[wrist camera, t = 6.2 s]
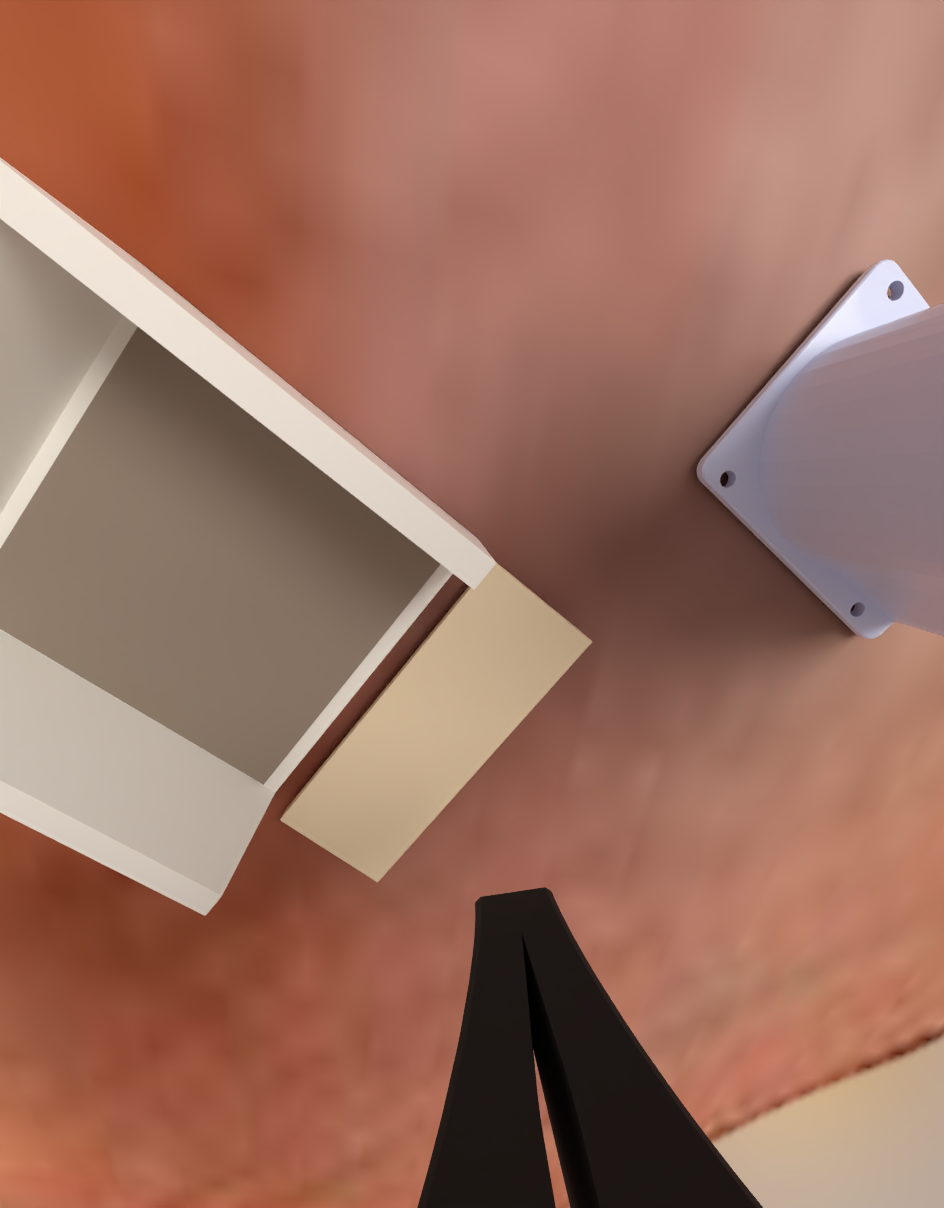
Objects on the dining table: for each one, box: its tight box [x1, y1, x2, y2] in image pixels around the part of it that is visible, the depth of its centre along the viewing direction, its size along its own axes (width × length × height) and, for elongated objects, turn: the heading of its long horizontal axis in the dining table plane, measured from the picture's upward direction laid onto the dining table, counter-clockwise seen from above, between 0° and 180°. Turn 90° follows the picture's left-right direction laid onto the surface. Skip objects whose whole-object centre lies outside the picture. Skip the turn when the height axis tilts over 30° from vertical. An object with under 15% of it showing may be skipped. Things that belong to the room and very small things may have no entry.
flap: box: [280, 562, 592, 882], centre depth 16 cm, size 1×12×4 cm
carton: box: [0, 158, 496, 916], centre depth 12 cm, size 12×12×5 cm
